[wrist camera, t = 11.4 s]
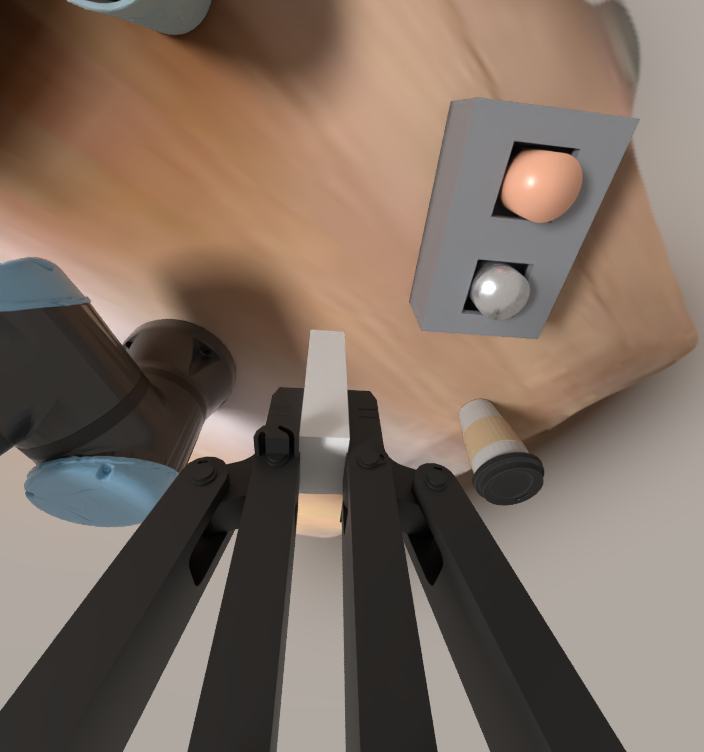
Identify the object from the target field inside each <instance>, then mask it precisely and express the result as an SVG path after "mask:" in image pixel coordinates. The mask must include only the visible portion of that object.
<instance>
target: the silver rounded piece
mask: <svg viewBox="0 0 704 752" xmlns="http://www.w3.org/2000/svg"><path fill="white" fill-rule="evenodd" d="M529 294H530V286H529V283H528V281H527V280H526V278H525V277H524V276H522V275H521V274H520V273H519V272H518V271H516V270H515V269H514V268H513V267H512V266H510V265H509V264H508V263H507V262H503V261H492V260H480V259H478V261H477V264H476V267H475V271H474V274H473V277H472V281H471V284H470V287H469V290H468V294H467V295H468V296H469V298H470V299H471V300H472V302H473V303H474V304H475V306H476V307H477V308H478V310H479V311H480V312H481V313H482V315H483V316H484V317H486V318H488V319H491V320H504V319H507V318H510V317H512V316H514V315H515V314H517V313H518V312H519V311H520V310H521V309H522V308H523V307H524V306H525V304H526V302H527V300H528V298H529Z"/></svg>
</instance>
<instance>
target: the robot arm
mask: <svg viewBox="0 0 704 752" xmlns="http://www.w3.org/2000/svg"><path fill="white" fill-rule="evenodd" d="M90 302H91V300H90V299H89V298H88V297H85V296H84V295H83V294H82V293H81V292H80V291H79V289H78V288H77V287H76V286H75V285H74V284H73V283H72V281H71V280H70V279H69V278H68V277H67V275H66V274H65V273H64V272H63V271H62V270H61V269H60V268H59V267H58V266H57V265H56V264H54V263H52V262H50V261H48V260H46V259H42V258H38V257H26V258H20V259H16V260H11V261H7V262H3V263H0V456H1V455H2V454H3V453H5V452H6V451H8V450H9V449H11V448H12V447H13V446H15V447H16V448H18V449H19V450H20V451H22V452H23V453H24V454H25V455H26V456H27V457H29V458H30V459H31V460H32V461H33V462H34V463H35V464H36V467H34V468H33V469H32V470H31V471H29V473H28V475H27V480H26V482H25V484H24V487H25V490H26V492H25V494H26V497H27V498H28V499H29V501H30V502H31V503H32V504H33V505H35V506H36V507H37V508H39V509H40V510H42V511H44V512H46V513H48V514H50V515H52V516H54V517H57V518H60V519H62V520H66V521H69V522H73V523H78V524H82V525H89V526H97V527H124V526H131V525H135V524H140V523H142V524H141V525H140V526H139V528H138V529H137V530H136V532H135V533H134V534H133V536H132V537H131V538H130V540H129V541H128V542H127V543H126V545H125V546H124V547H123V549H122V550H121V551H120V553H119V554H118V555H117V557H116V558H115V559H114V561H113V562H112V563H111V565H110V566H109V567H108V569H107V570H106V572H105V573H104V574H103V575H102V577H101V578H100V579H99V581H98V582H97V583H96V585H95V586H94V587H93V589H92V590H91V591H90V593H89V594H88V595H87V597H86V598H85V599H84V601H83V602H82V603H81V604H80V606H79V607H78V608H77V610H76V611H75V612H74V614H73V615H72V616H71V618H70V619H69V621H68V622H67V623H66V624H65V626H64V627H63V628H62V630H61V631H60V632H59V634H58V635H57V636H56V638H55V639H54V640H53V642H52V643H51V644H50V646H49V647H48V649H47V650H46V651H45V652H44V654H43V655H42V656H41V658H40V659H39V660H38V662H37V663H36V664H35V666H34V667H33V668H32V670H31V671H30V672H29V674H28V675H27V676H26V678H25V679H24V680H23V681H22V683H21V684H20V685H19V687H18V688H17V689H16V691H15V693H14V694H13V695H12V696H11V697H10V699H9V700H8V701H7V703H6V704H5V706H4V707H3V708H2V709H1V711H0V752H123V750H124V748H125V746H126V744H127V742H128V740H129V738H130V736H131V734H132V732H133V730H134V728H135V726H136V725H137V723H138V720H139V718H140V717H141V715H142V713H143V711H144V709H145V707H146V705H147V703H148V701H149V699H150V697H151V695H152V693H153V691H154V689H155V687H156V685H157V683H158V681H159V679H160V677H161V675H162V673H163V671H164V669H165V667H166V665H167V663H168V661H169V659H170V657H171V655H172V653H173V651H174V649H175V647H176V646H177V644H178V642H179V640H180V638H181V635H182V634H183V632H184V630H185V628H186V626H187V624H188V622H189V620H190V618H191V616H192V614H193V612H194V610H195V608H196V606H197V604H198V602H199V600H200V598H201V596H202V594H203V592H204V590H205V588H206V586H207V584H208V582H209V580H210V578H211V576H212V574H213V572H214V570H215V568H216V567H217V565H218V562H219V560H220V559H221V556H222V555H223V553H224V551H225V549H226V547H227V544H228V543H229V541H230V539H231V537H232V535H233V533H234V531H235V529H238V528H239V529H238V533H237V538H236V542H235V546H234V551H233V556H232V560H231V564H230V568H229V573H228V577H227V581H226V586H225V590H224V594H223V599H222V603H221V608H220V612H219V617H218V621H217V625H216V629H215V634H214V639H213V643H212V647H211V651H210V656H209V660H208V665H207V669H206V673H205V678H204V682H203V686H202V691H201V695H200V699H199V704H198V709H197V713H196V717H195V721H194V726H193V730H192V734H191V739H190V743H189V748H188V752H276V751H277V740H278V728H279V717H280V706H281V695H282V684H283V672H284V660H285V650H286V638H287V627H288V616H289V604H290V593H291V582H292V581H291V580H292V570H293V558H294V547H295V536H296V525H297V514H298V495H299V493H312V494H342V491H343V503H342V510H341V517H340V522H342V556H343V558H342V560H343V609H344V610H343V616H344V669H345V670H344V673H345V728H346V752H438V751H437V745H436V739H435V733H434V726H433V720H432V715H431V708H430V702H429V696H428V690H427V683H426V677H425V671H424V665H423V660H422V653H421V647H420V640H419V634H418V628H417V622H416V617H415V610H414V604H413V597H412V592H411V585H410V579H409V573H408V567H407V561H406V554H405V548H404V543H405V545H406V548H407V550H408V553H409V555H410V557H411V560H412V562H413V565H414V567H415V570H416V572H417V574H418V576H419V579H420V582H421V584H422V587H423V589H424V591H425V594H426V596H427V598H428V601H429V604H430V606H431V608H432V611H433V613H434V616H435V618H436V621H437V623H438V625H439V628H440V630H441V633H442V635H443V638H444V640H445V643H446V645H447V647H448V650H449V652H450V654H451V657H452V660H453V662H454V664H455V667H456V669H457V671H458V674H459V677H460V679H461V681H462V684H463V686H464V689H465V691H466V694H467V696H468V698H469V701H470V703H471V705H472V708H473V711H474V713H475V715H476V718H477V720H478V722H479V725H480V728H481V730H482V732H483V735H484V737H485V740H486V742H487V745H488V747H489V749H490V752H626V750H625V749H624V747H623V746H622V744H621V742H620V741H619V739H618V738H617V736H616V734H615V733H614V731H613V730H612V728H611V726H610V725H609V723H608V721H607V720H606V718H605V717H604V715H603V714H602V712H601V710H600V709H599V707H598V705H597V704H596V702H595V701H594V699H593V698H592V696H591V694H590V692H589V691H588V689H587V688H586V686H585V685H584V683H583V682H582V680H581V678H580V676H579V675H578V673H577V672H576V670H575V668H574V667H573V665H572V664H571V662H570V660H569V659H568V657H567V656H566V654H565V652H564V651H563V649H562V647H561V646H560V644H559V643H558V641H557V639H556V638H555V636H554V635H553V633H552V631H551V630H550V628H549V627H548V625H547V623H546V622H545V620H544V619H543V617H542V615H541V614H540V612H539V611H538V609H537V607H536V606H535V604H534V602H533V601H532V599H531V598H530V596H529V595H528V593H527V591H526V590H525V588H524V586H523V585H522V583H521V582H520V580H519V578H518V577H517V575H516V574H515V572H514V570H513V569H512V567H511V566H510V564H509V562H508V561H507V559H506V557H505V556H504V554H503V553H502V551H501V550H500V548H499V546H498V545H497V543H496V541H495V540H494V538H493V537H492V535H491V533H490V532H489V530H488V529H487V527H486V525H485V524H484V522H483V520H482V519H481V517H480V516H479V514H478V512H477V511H476V509H475V508H474V506H473V505H472V503H471V501H470V500H469V498H468V496H467V495H466V493H465V492H464V490H463V488H462V487H461V485H460V484H459V482H458V480H457V479H456V477H455V476H454V475H453V474H452V472H451V471H450V470H448V469H447V468H445V467H444V466H442V465H438V464H435V463H426V464H423V465H421V466H419V467H418V468H417V470H415V469H412V468H409V467H405V466H403V465H400V464H398V463H396V462H395V461H393V460H392V459H391V458H390V457H389V456H388V454H387V453H386V452H385V449H384V445H383V439H382V432H381V426H380V419H379V413H378V406H377V400H376V398H375V397H374V396H373V394H372V393H371V392H370V391H357V390H347V376H346V356H345V336H344V332H338V331H323V330H311V332H310V342H309V351H308V360H307V369H306V379H305V388H304V389H303V388H284V387H280V388H279V389H278V390H277V391H276V392H275V393H274V394H273V395H272V400H271V404H270V409H269V414H268V418H267V422H266V425H264V426H262V427H261V428H260V429H259V430H257V431H256V433H255V435H254V437H253V438H254V449H255V454H254V455H253V456H251V457H249V458H247V459H245V460H242V461H239V462H235V463H231V464H225V462H224V461H223V460H221V459H219V458H216V457H203V458H198V459H196V460H194V461H192V462H190V463H188V461H189V459H190V456H191V454H192V451H193V449H194V446H195V444H196V441H197V439H198V436H199V434H200V431H201V429H202V426H203V424H204V422H205V420H206V419H207V418H208V417H209V416H210V415H211V414H212V413H213V412H214V411H215V410H216V409H217V408H218V407H220V406H221V405H222V404H223V403H224V402H225V401H226V400H227V398H228V397H229V395H230V393H231V391H232V388H233V385H234V383H235V378H236V368H235V364H234V361H233V358H232V356H231V354H230V353H229V351H228V350H227V348H226V347H225V346H224V344H223V343H222V342H221V341H220V340H219V339H218V338H216V337H215V336H214V335H212V334H211V333H210V332H208V331H206V330H205V329H203V328H201V327H199V326H196V325H194V324H191V323H188V322H184V321H180V320H172V319H162V320H155V321H151V322H148V323H145V324H143V325H141V326H140V327H138V328H137V329H136V330H135V331H134V332H133V333H132V334H131V335H130V336H129V337H128V338H127V339H126V340H125V341H124V343H123V345H122V344H121V343H120V342H119V341H118V339H117V338H116V337H115V335H114V334H113V333H112V332H111V330H110V329H109V328H108V326H107V325H106V324H105V322H104V321H103V320H102V318H101V317H100V315H99V314H98V313H97V311H96V310H95V309H94V307H93V306H92V305H91V303H90ZM403 540H404V542H403Z"/></svg>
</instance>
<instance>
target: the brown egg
mask: <svg viewBox="0 0 704 752" xmlns="http://www.w3.org/2000/svg"><path fill="white" fill-rule="evenodd" d="M582 177H583V175H582V169H581V166H580V164H579V162H578V161H577V160H576V159H575V158H574V157H573V156H571V155H569V154H565V153H559V152H553V151H546V150H539V149H532V148H525V147H520V148H515V149H513V150H511V153H510V156H509V160H508V163H507V166H506V169H505V173H504V176H503V179H502V182H501V186H500V189H499V192H498V196H497V199H496V203H497V204H499V205H501V206H502V207H504V208H506V209H508V210H510V211H512V212H514V213H516V214H518V215H520V216H522V217H524V218H526V219H528V220H530V221H532V222H536V223H544V222H549V221H552V220H554V219H556V218H558V217H559V216H561V215H562V214H563V213H565V212H566V211H567V210H568V209H569V208H570V207H571V205H572V204H573V203H574V201H575V200H576V198H577V196H578V194H579V192H580V189H581V185H582Z"/></svg>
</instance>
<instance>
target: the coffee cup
mask: <svg viewBox="0 0 704 752" xmlns="http://www.w3.org/2000/svg"><path fill="white" fill-rule="evenodd" d="M459 419H460V423H461V427H462V430H463V434H464V436H463V437H464V442H465V446H466V449H467V453H468V457H469V461H470V464H471V468H472V470H473V472H474V475H473V479H472V484H473V486H474V488H475V489H476V491H477V493H478V494H479V495H480V496H482V497H484V498H485V499H486V500H487V501H488V502H490V503H492V504H496V505H513V504H517V503H521V502H523V501H526V500H528V499H530V498H531V497H533V496H534V495H535V494H537V492H538V491H539V490H540V489H541V488H542V486H543V477H544V468H543V465H542V462H541V461H540V459H539V458H538V457H536V456H534V455H532V454H529V452H528V450H527V448H526V446H525V445H524V444H523V442H522V441H521V440H520V438H519V437H518V436H517V434H516V433H515V432H514V430H513V429H512V428H511V426H510V425H509V424H508V422H507V421H506V420H504V419H503V417H502V416H501V415H500V413H499V412H498V411H497V410H496V408H495V407H494V406H493V404H492V403H491V402H490V401H488V400H485V399H476V400H473V401H470V402H469V403H467V404H466V405H464V406H463V407H462V408H461V410H460V412H459Z"/></svg>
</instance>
